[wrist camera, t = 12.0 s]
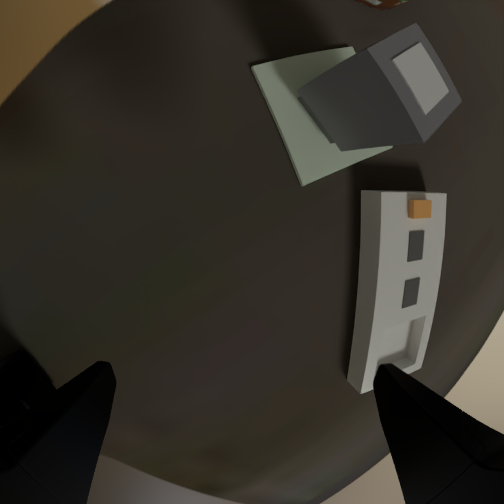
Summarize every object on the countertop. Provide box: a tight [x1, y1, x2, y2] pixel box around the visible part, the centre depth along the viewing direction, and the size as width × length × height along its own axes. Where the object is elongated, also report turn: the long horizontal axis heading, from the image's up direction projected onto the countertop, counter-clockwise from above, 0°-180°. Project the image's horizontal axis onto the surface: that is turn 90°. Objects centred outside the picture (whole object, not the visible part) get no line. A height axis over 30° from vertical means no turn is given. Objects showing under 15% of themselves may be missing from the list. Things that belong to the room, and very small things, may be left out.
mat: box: [251, 47, 393, 186], centre depth 19 cm, size 9×9×1 cm
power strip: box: [347, 190, 446, 394], centre depth 23 cm, size 18×8×3 cm, turn 2°
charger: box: [297, 23, 462, 152], centre depth 15 cm, size 5×5×9 cm
